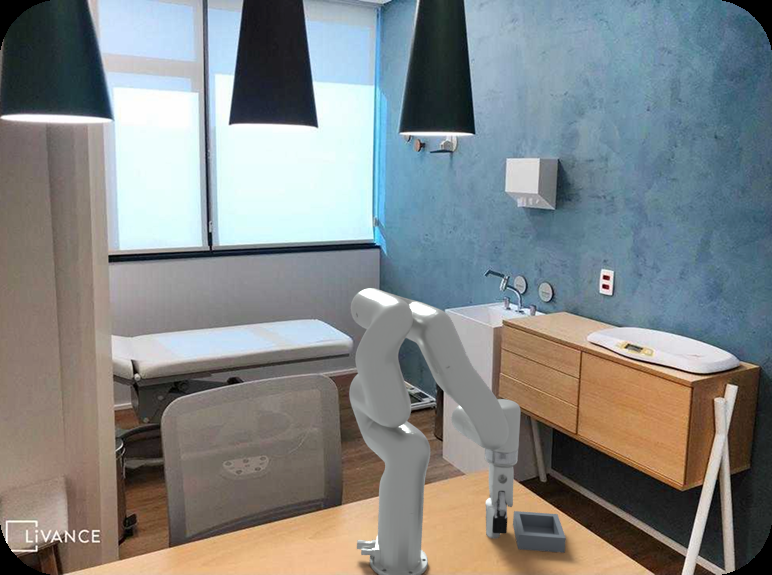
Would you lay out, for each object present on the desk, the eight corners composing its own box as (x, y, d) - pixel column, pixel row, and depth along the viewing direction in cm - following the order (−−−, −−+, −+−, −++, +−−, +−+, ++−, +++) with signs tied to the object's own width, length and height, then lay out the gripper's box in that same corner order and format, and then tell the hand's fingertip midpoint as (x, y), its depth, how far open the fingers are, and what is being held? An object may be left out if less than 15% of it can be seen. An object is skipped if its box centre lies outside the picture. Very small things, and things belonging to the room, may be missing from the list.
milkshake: (507, 540, 153) (510, 501, 151) (484, 539, 153) (487, 500, 151) (504, 530, 157) (507, 491, 155) (482, 529, 157) (484, 490, 155)
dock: (518, 549, 149) (519, 534, 149) (512, 524, 160) (513, 511, 159) (564, 552, 149) (565, 538, 148) (556, 527, 159) (557, 514, 158)
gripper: (522, 471, 142) (518, 543, 146) (513, 438, 159) (509, 503, 163) (487, 470, 143) (483, 541, 146) (482, 436, 160) (478, 501, 163)
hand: (497, 521), depth 154 cm, fingers open, 9 cm apart
